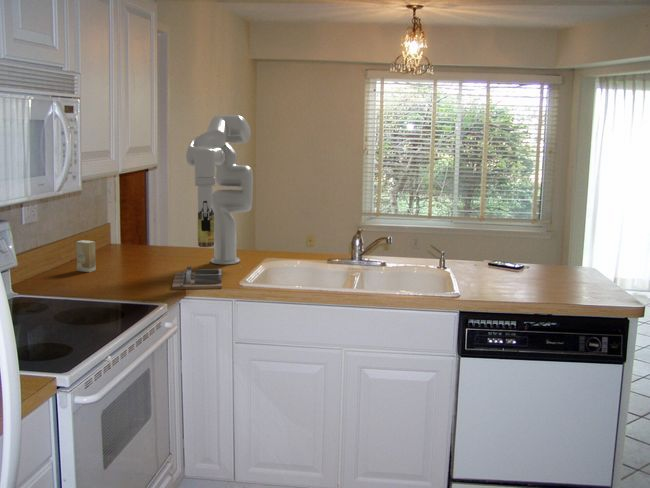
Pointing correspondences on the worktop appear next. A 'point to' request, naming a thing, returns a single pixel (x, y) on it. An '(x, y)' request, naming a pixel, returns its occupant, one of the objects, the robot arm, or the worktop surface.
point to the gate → (188, 274)
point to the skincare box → (86, 256)
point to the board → (198, 279)
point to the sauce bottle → (206, 236)
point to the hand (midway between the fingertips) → (205, 228)
